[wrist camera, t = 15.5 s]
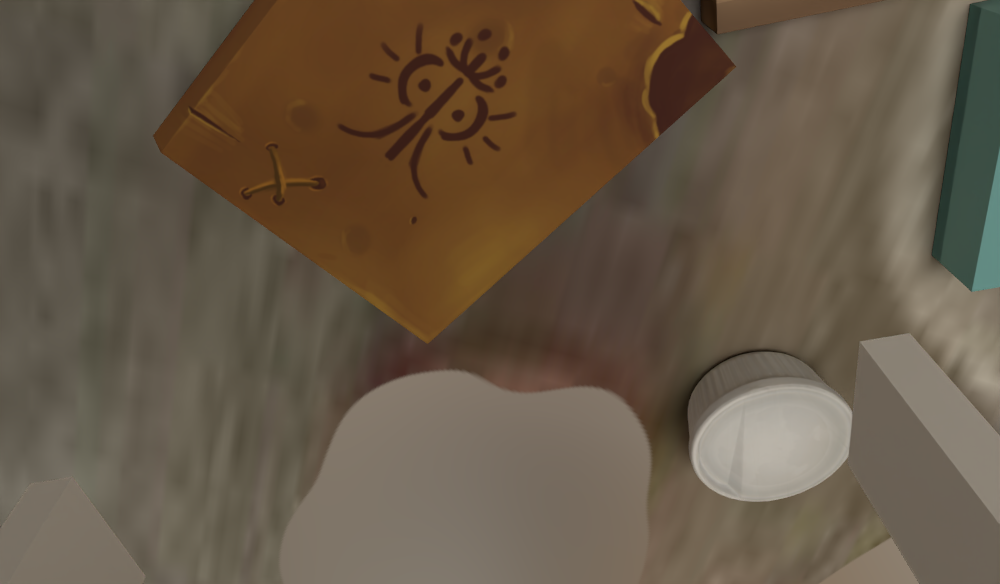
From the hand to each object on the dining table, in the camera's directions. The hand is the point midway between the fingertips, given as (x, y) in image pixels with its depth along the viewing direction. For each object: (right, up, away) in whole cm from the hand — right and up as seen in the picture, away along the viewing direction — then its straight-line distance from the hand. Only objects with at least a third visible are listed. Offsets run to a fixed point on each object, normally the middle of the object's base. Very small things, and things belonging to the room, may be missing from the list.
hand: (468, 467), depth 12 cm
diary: (-3, +15, +29) cm, 33 cm away
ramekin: (+19, -5, +42) cm, 46 cm away
